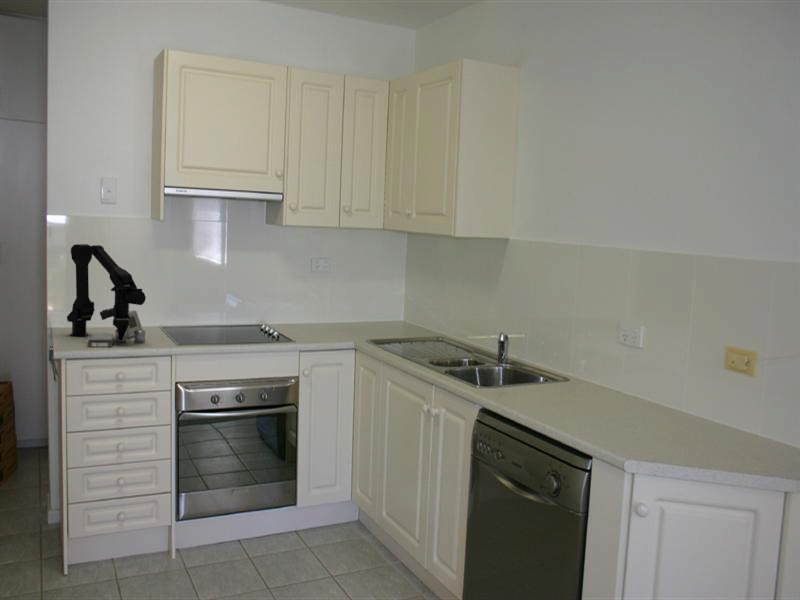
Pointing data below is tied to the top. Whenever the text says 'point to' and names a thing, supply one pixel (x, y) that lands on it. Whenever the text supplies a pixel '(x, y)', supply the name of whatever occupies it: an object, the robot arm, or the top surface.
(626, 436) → the top surface
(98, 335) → the platform
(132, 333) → the digital clock
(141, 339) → the cylinder
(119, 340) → the cylinder
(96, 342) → the scale base
